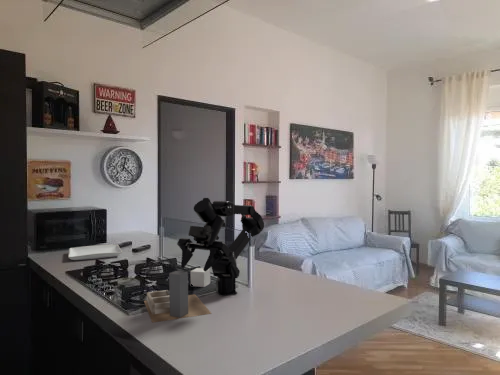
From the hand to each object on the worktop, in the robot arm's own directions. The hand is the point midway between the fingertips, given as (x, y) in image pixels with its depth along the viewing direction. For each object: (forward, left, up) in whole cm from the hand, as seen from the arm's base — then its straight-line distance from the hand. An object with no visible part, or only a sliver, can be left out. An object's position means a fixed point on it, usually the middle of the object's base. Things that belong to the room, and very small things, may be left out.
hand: (193, 269), depth 120 cm
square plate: (+30, -110, -14) cm, 115 cm away
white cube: (-10, -27, -14) cm, 32 cm away
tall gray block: (+6, +6, -12) cm, 15 cm away
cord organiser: (+5, -2, -13) cm, 14 cm away
